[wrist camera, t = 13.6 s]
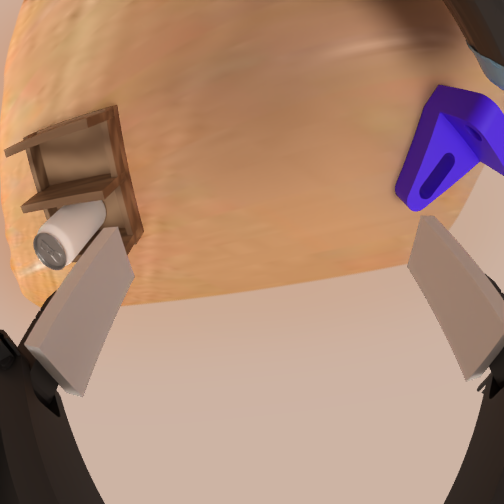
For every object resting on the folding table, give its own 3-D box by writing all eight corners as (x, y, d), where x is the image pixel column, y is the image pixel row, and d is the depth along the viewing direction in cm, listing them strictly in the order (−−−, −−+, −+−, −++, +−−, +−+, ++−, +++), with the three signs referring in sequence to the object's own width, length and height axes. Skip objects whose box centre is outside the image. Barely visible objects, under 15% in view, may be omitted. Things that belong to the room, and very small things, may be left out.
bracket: (438, 84, 28) (491, 96, 18) (477, 132, 31) (526, 156, 21) (373, 177, 37) (410, 215, 27) (418, 213, 40) (455, 256, 30)
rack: (37, 131, 32) (3, 147, 25) (117, 105, 31) (85, 114, 24) (68, 237, 43) (45, 264, 36) (143, 231, 42) (125, 263, 36)
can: (98, 233, 41) (62, 280, 31) (69, 211, 39) (27, 253, 29) (113, 205, 38) (74, 251, 29) (82, 181, 36) (36, 220, 26)
